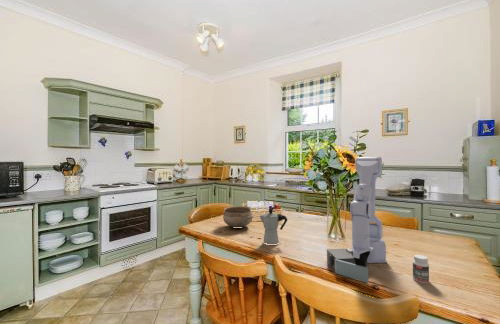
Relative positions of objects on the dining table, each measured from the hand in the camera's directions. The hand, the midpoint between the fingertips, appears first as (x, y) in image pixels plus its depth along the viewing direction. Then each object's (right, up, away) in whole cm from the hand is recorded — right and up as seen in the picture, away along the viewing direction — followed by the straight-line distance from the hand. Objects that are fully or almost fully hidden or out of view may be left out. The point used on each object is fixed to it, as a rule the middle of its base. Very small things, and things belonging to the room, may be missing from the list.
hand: (360, 271), depth 88 cm
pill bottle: (+20, -3, -2) cm, 21 cm away
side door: (-4, -2, 0) cm, 4 cm away
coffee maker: (-28, -3, +38) cm, 48 cm away
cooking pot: (-48, -3, +69) cm, 84 cm away
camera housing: (-1, -2, +10) cm, 10 cm away
